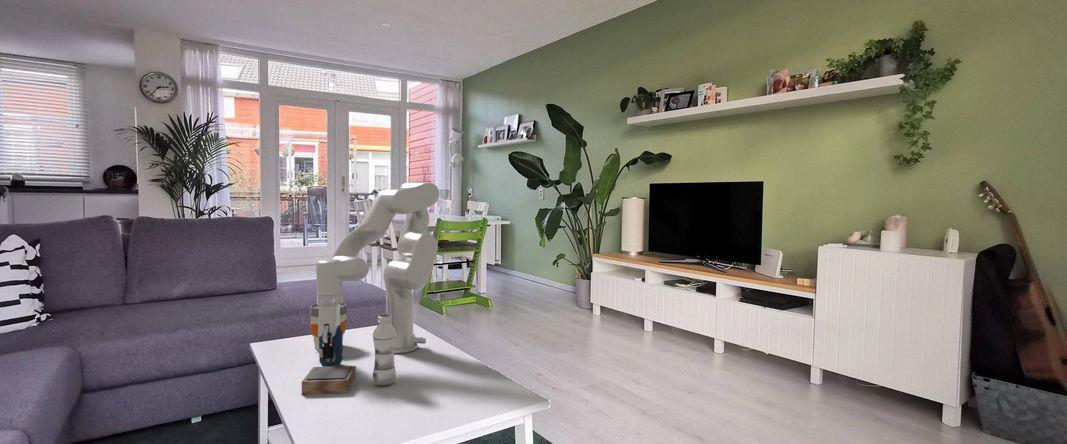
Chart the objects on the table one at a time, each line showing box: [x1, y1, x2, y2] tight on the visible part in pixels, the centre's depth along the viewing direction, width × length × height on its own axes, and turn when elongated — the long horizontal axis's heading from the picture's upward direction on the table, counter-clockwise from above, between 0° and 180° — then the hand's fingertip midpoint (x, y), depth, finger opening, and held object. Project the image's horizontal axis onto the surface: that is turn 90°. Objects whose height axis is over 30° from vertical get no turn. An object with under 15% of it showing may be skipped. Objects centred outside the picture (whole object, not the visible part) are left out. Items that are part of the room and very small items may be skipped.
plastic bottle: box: [372, 313, 397, 386], centre depth 149 cm, size 6×7×20 cm
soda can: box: [318, 326, 344, 367], centre depth 163 cm, size 7×7×12 cm
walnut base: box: [301, 365, 357, 396], centre depth 146 cm, size 12×12×4 cm
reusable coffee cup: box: [308, 302, 348, 351], centre depth 183 cm, size 13×13×15 cm
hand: (331, 353), depth 163 cm, fingers closed on soda can, 7 cm apart
